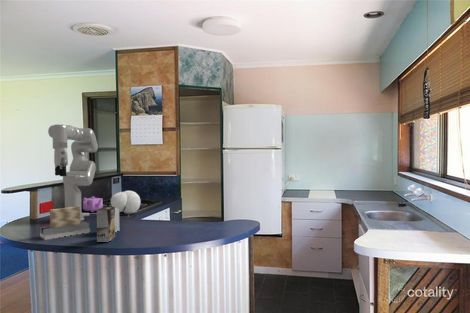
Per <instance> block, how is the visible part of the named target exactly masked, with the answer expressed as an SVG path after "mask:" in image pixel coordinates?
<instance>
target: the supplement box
mask: <svg viewBox="0 0 470 313" xmlns="http://www.w3.org/2000/svg"><path fill="white" fill-rule="evenodd" d="M120 230H121V229H120V213H119V209H115V232H116V233H118V232H117V231H119V232H120Z"/></svg>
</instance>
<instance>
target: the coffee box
mask: <svg viewBox="0 0 470 313" xmlns="http://www.w3.org/2000/svg"><path fill="white" fill-rule="evenodd" d="M114 237H115V238H116V233H115V207H112V206H103V207H102V208H100V209H97V210H96V243H97V242H109V241H111V240H112V239H113V238H114ZM115 238H114V239H115ZM114 239H113V240H114ZM113 240H112V241H113ZM112 241H111V242H112ZM109 243H110V242H109Z"/></svg>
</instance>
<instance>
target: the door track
mask: <svg viewBox="0 0 470 313" xmlns="http://www.w3.org/2000/svg"><path fill="white" fill-rule="evenodd" d="M89 232H91V229H90V222H86V221H84V220H82V221H80V224H76V225H69V226H62V227H56V228H50V225H49V226H42V227H40V233H39V237H40V238H41V239H42V240H44V241H47V240H54V239H59V237H60V238H64V236H66V237H70V235H72V236H76V234H78V235H82V233H84V234H89ZM53 238H54V239H53Z"/></svg>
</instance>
